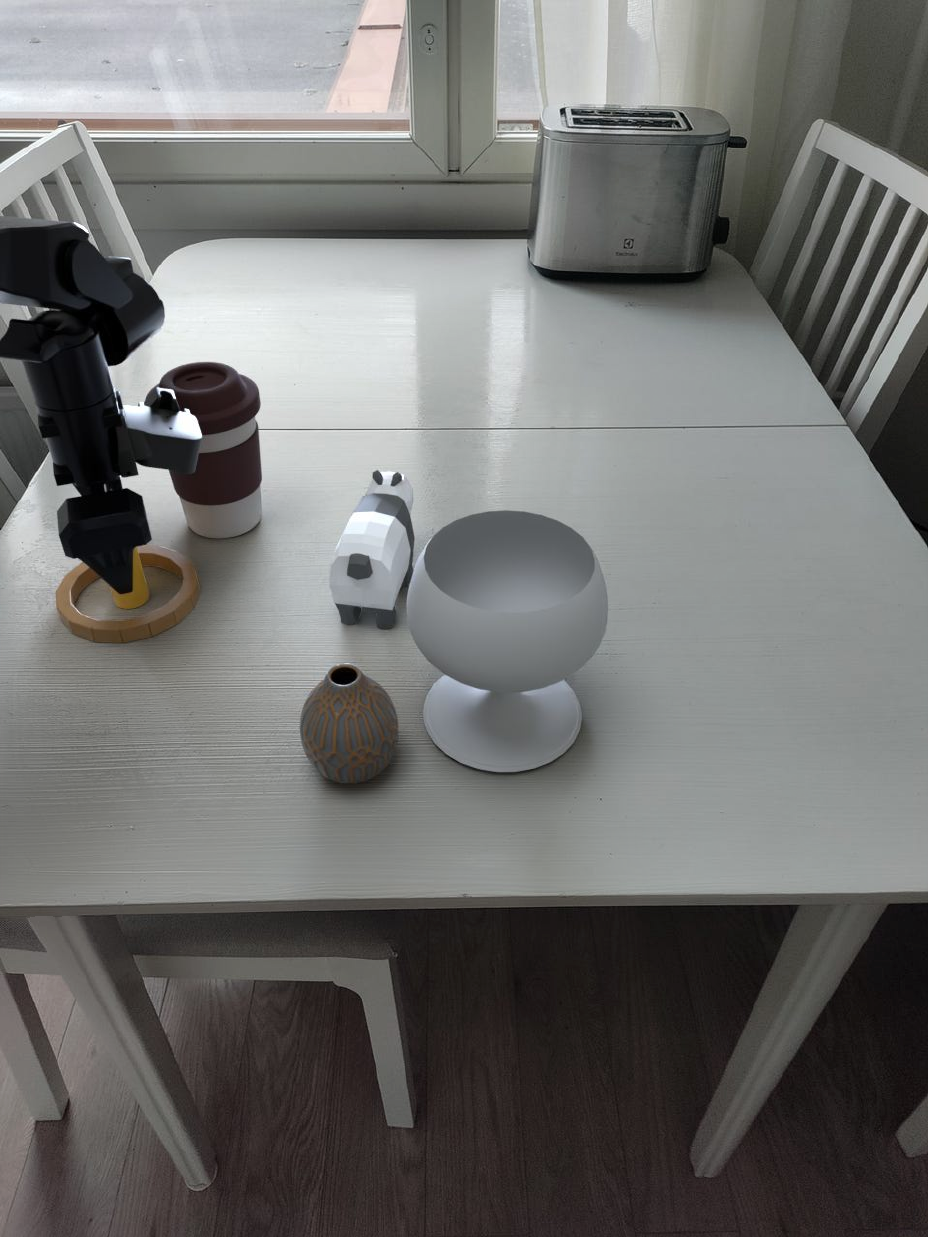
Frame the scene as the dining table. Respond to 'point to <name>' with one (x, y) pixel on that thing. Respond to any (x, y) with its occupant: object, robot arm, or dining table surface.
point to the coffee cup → (219, 449)
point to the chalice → (506, 635)
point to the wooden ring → (134, 626)
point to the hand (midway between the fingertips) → (121, 560)
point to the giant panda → (375, 551)
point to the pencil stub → (139, 587)
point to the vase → (348, 726)
